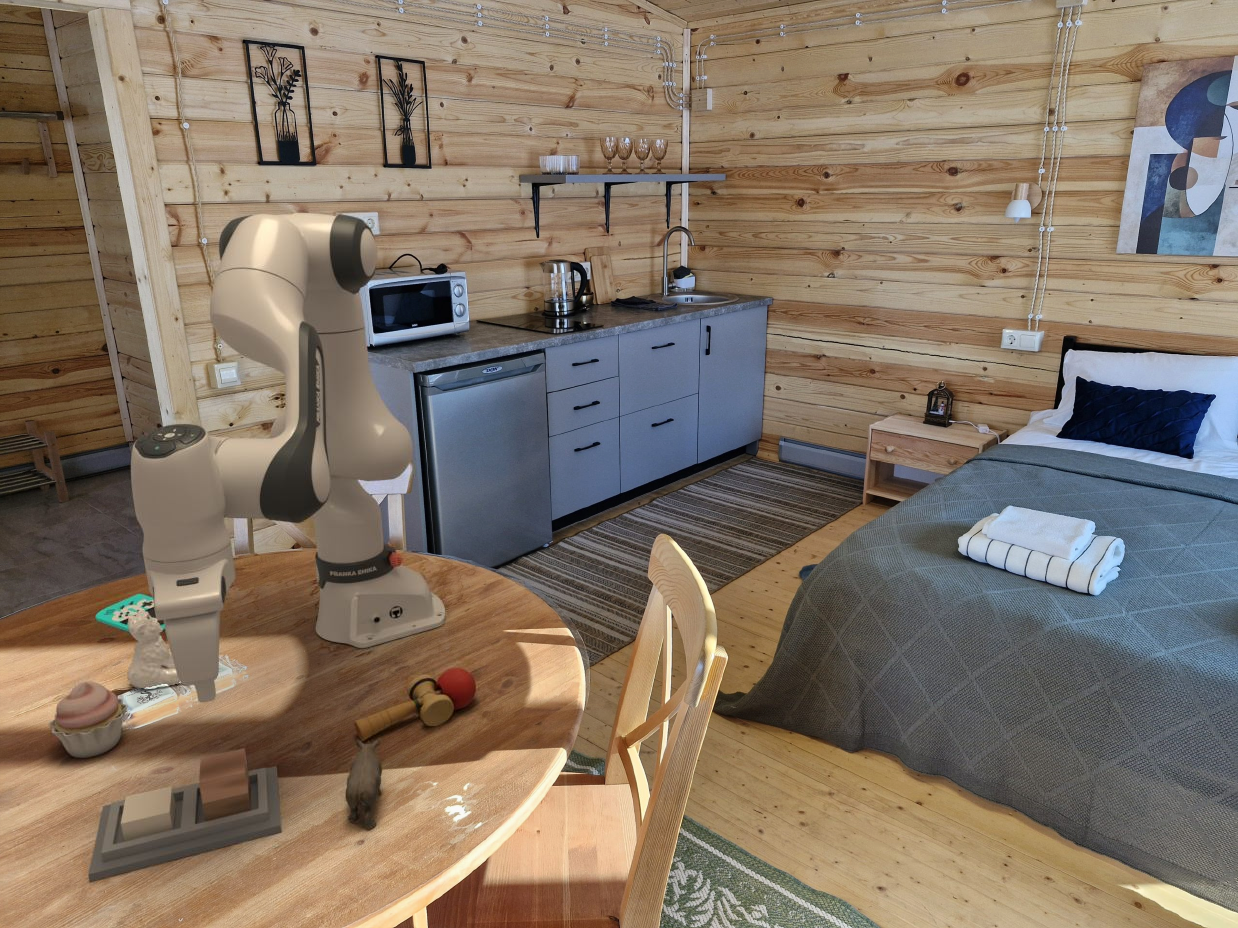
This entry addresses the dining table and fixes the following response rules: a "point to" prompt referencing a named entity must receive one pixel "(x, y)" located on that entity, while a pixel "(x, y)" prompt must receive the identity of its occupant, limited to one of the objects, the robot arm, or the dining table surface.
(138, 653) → the sitting furry creature
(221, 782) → the brown block
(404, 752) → the dining table surface
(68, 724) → the cupcake
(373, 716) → the kendama
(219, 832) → the base plate
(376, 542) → the robot arm
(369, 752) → the rhino figurine
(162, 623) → the handheld game console
